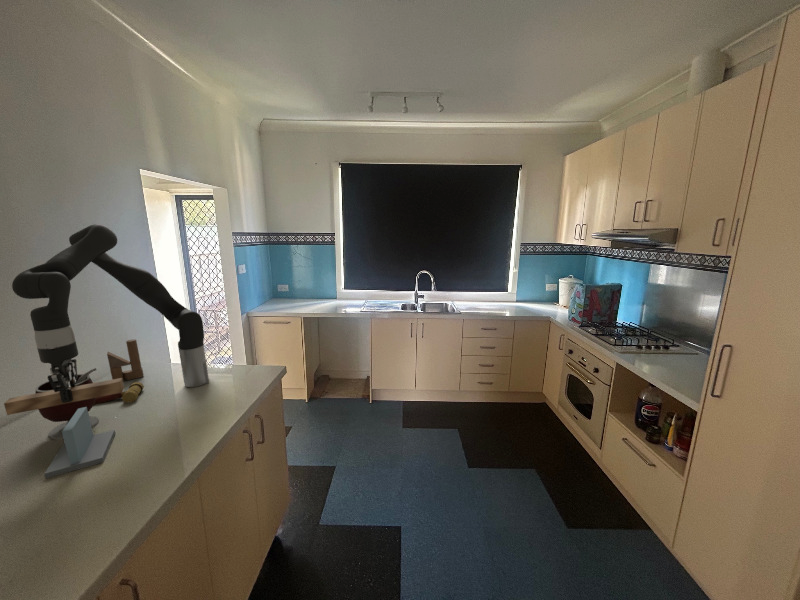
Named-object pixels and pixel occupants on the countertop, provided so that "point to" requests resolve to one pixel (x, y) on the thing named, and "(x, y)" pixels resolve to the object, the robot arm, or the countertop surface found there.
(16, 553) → the countertop surface
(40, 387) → the mate gourd
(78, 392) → the light wood bar
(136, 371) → the wooden block
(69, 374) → the robot arm
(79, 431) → the stand
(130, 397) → the gavel
